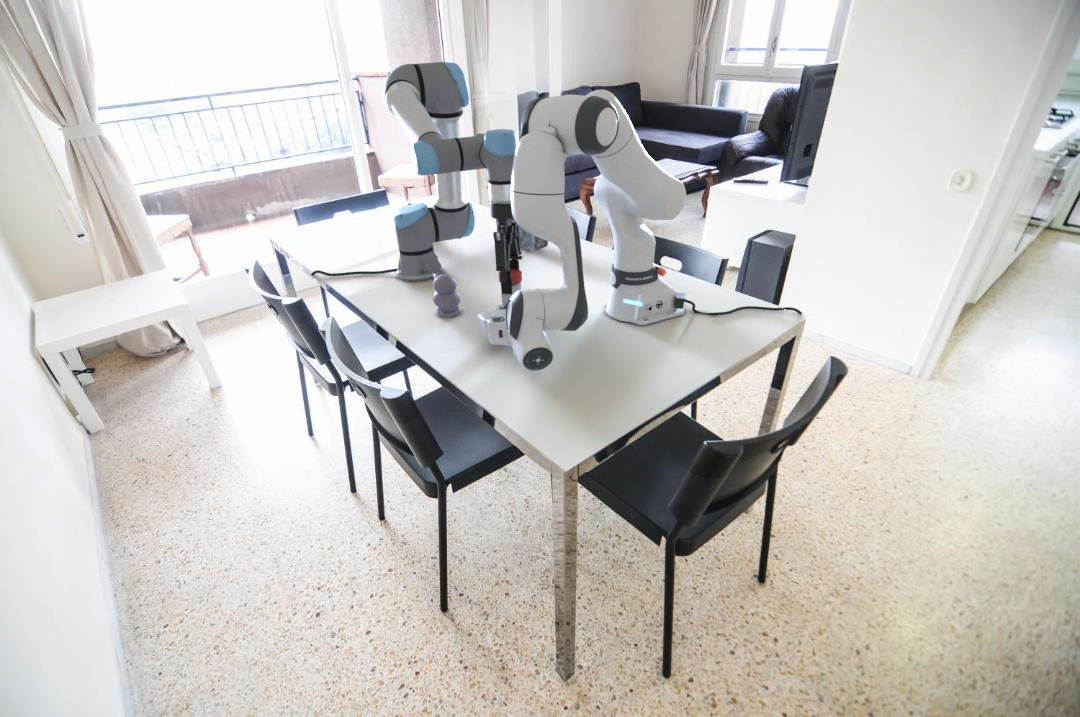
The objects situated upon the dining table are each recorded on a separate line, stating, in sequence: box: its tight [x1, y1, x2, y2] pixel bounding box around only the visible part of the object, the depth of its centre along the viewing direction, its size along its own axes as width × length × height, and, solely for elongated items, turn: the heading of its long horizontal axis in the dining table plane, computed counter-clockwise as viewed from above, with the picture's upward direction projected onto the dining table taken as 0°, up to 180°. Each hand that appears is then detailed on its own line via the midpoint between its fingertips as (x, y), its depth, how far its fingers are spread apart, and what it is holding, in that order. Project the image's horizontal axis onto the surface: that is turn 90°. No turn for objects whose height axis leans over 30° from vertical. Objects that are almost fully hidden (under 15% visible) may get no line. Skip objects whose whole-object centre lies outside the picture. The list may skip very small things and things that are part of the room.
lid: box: [498, 269, 523, 284], centre depth 130 cm, size 6×6×2 cm
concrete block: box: [495, 219, 549, 252], centre depth 191 cm, size 27×9×20 cm, turn 36°
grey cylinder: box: [500, 281, 522, 309], centre depth 134 cm, size 5×5×16 cm
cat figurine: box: [432, 273, 462, 318], centre depth 145 cm, size 9×8×12 cm
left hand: (511, 288), depth 132 cm, fingers closed on lid, 6 cm apart
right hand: (511, 305), depth 136 cm, fingers closed on grey cylinder, 5 cm apart
